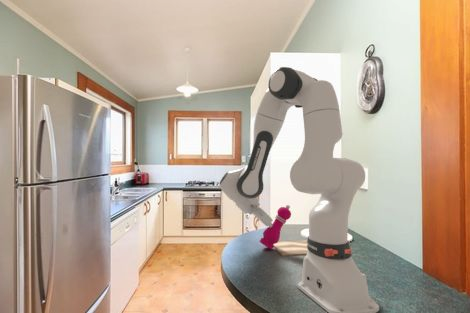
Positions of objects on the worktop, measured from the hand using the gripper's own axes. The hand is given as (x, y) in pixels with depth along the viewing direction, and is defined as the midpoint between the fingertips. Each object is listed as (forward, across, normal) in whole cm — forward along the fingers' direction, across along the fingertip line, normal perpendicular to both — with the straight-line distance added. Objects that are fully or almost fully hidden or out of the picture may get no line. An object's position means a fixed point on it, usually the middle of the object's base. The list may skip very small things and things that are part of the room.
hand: (271, 225), depth 110 cm
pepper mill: (+4, 0, +8) cm, 9 cm away
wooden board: (+16, -1, -1) cm, 16 cm away
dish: (+32, +15, -16) cm, 39 cm away
